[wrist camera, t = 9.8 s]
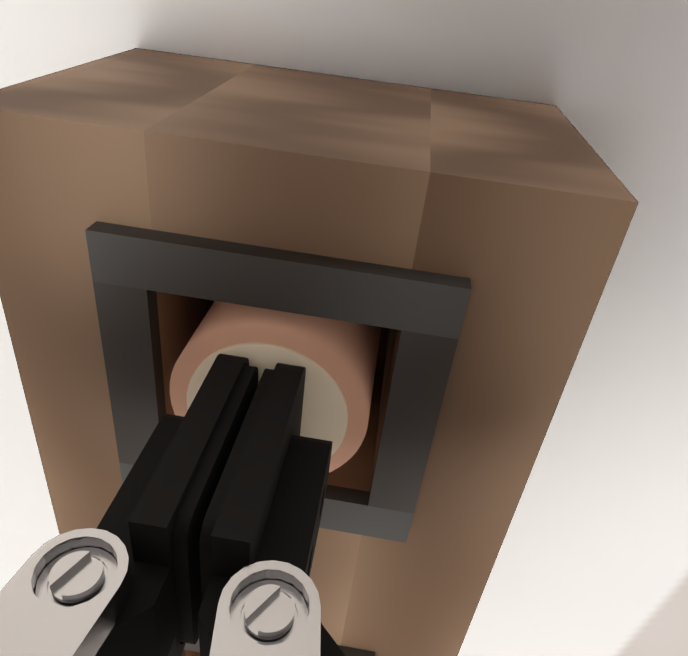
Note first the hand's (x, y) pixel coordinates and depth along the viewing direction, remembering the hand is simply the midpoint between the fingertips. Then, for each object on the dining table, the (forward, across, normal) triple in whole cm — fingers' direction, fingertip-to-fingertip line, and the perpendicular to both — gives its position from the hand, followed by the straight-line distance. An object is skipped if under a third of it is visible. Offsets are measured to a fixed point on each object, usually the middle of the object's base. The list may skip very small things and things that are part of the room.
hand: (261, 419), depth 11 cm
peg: (+7, 0, 0) cm, 7 cm away
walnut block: (+8, 0, +6) cm, 10 cm away
